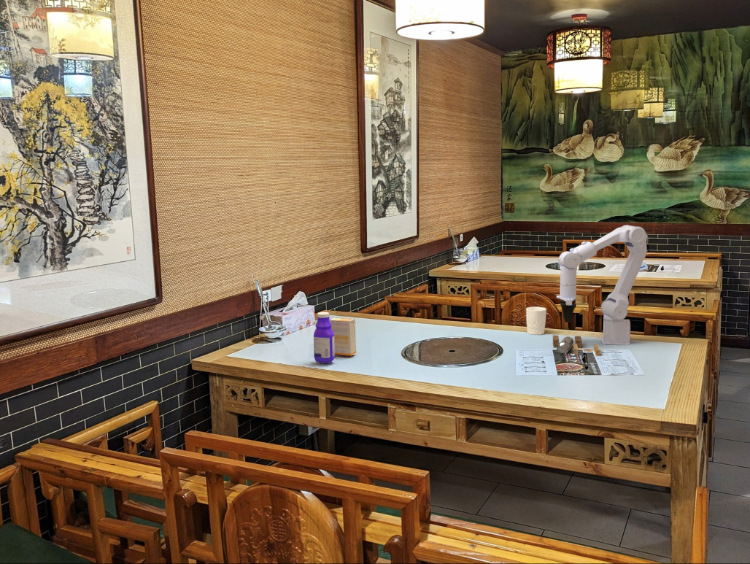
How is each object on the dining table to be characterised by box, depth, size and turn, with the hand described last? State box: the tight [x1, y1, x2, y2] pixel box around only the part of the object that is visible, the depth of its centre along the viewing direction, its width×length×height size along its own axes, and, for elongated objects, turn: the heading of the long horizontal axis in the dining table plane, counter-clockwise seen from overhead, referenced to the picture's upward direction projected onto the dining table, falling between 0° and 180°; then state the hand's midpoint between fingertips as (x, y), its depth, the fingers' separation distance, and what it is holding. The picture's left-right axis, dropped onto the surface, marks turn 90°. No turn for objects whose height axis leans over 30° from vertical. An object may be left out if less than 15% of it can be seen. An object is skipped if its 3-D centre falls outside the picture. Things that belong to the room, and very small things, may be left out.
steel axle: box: [556, 336, 575, 354], centre depth 243 cm, size 12×4×4 cm, turn 155°
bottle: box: [313, 311, 336, 364], centre depth 235 cm, size 7×6×17 cm
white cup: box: [525, 306, 547, 336], centre depth 270 cm, size 8×8×10 cm
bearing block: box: [552, 334, 583, 349], centre depth 249 cm, size 10×7×3 cm
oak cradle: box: [572, 343, 601, 357], centre depth 238 cm, size 9×9×3 cm
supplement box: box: [330, 316, 357, 357], centre depth 245 cm, size 8×5×13 cm, turn 65°
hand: (567, 320), depth 249 cm, fingers open, 5 cm apart
